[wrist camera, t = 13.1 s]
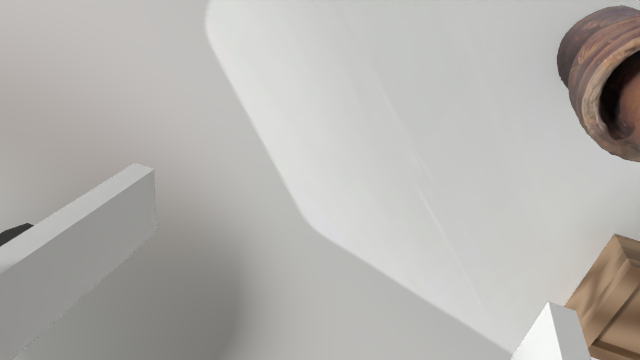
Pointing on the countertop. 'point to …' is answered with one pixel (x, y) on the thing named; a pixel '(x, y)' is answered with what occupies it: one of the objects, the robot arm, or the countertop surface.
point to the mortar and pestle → (605, 77)
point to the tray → (611, 302)
